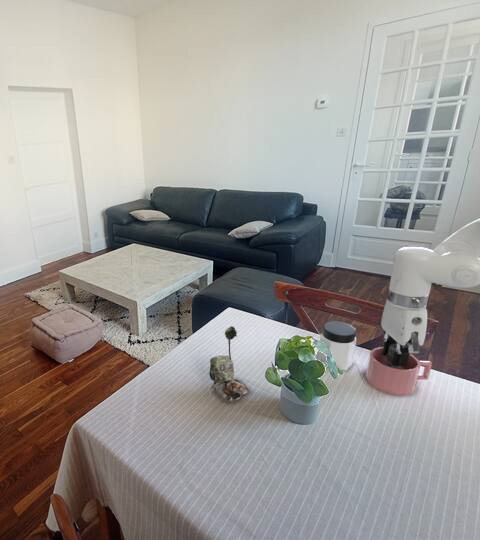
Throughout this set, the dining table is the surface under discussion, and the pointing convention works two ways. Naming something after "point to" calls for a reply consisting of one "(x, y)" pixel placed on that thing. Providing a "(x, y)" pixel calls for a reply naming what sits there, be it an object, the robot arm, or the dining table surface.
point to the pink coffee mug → (395, 373)
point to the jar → (339, 343)
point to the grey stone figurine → (391, 357)
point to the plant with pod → (226, 372)
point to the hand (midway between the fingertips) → (394, 359)
